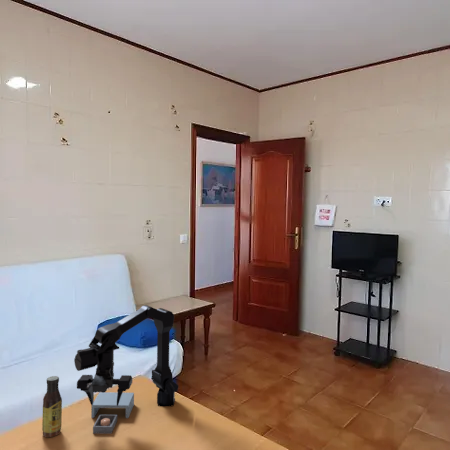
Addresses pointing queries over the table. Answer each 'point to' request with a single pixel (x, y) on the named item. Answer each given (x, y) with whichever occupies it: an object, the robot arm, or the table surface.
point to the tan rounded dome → (105, 422)
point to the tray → (104, 429)
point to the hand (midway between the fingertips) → (104, 404)
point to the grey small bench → (112, 402)
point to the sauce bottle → (52, 408)
